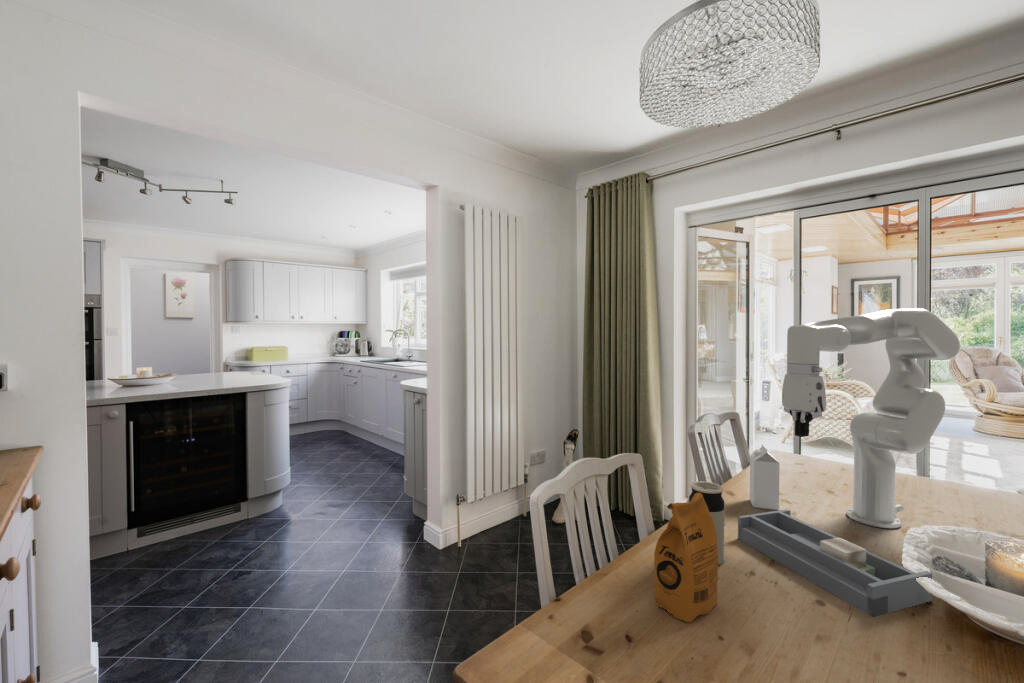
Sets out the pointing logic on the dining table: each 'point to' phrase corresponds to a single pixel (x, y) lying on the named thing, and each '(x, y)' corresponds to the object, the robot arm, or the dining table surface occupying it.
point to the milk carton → (764, 479)
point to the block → (845, 551)
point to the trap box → (833, 564)
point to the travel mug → (713, 509)
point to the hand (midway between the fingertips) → (801, 435)
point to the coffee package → (687, 561)
